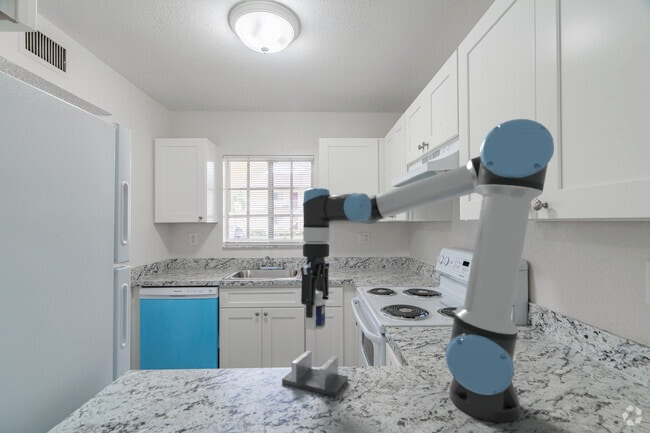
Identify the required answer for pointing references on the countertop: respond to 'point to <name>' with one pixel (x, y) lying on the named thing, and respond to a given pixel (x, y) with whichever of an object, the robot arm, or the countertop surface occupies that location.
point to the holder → (316, 376)
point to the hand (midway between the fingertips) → (315, 325)
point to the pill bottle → (319, 310)
